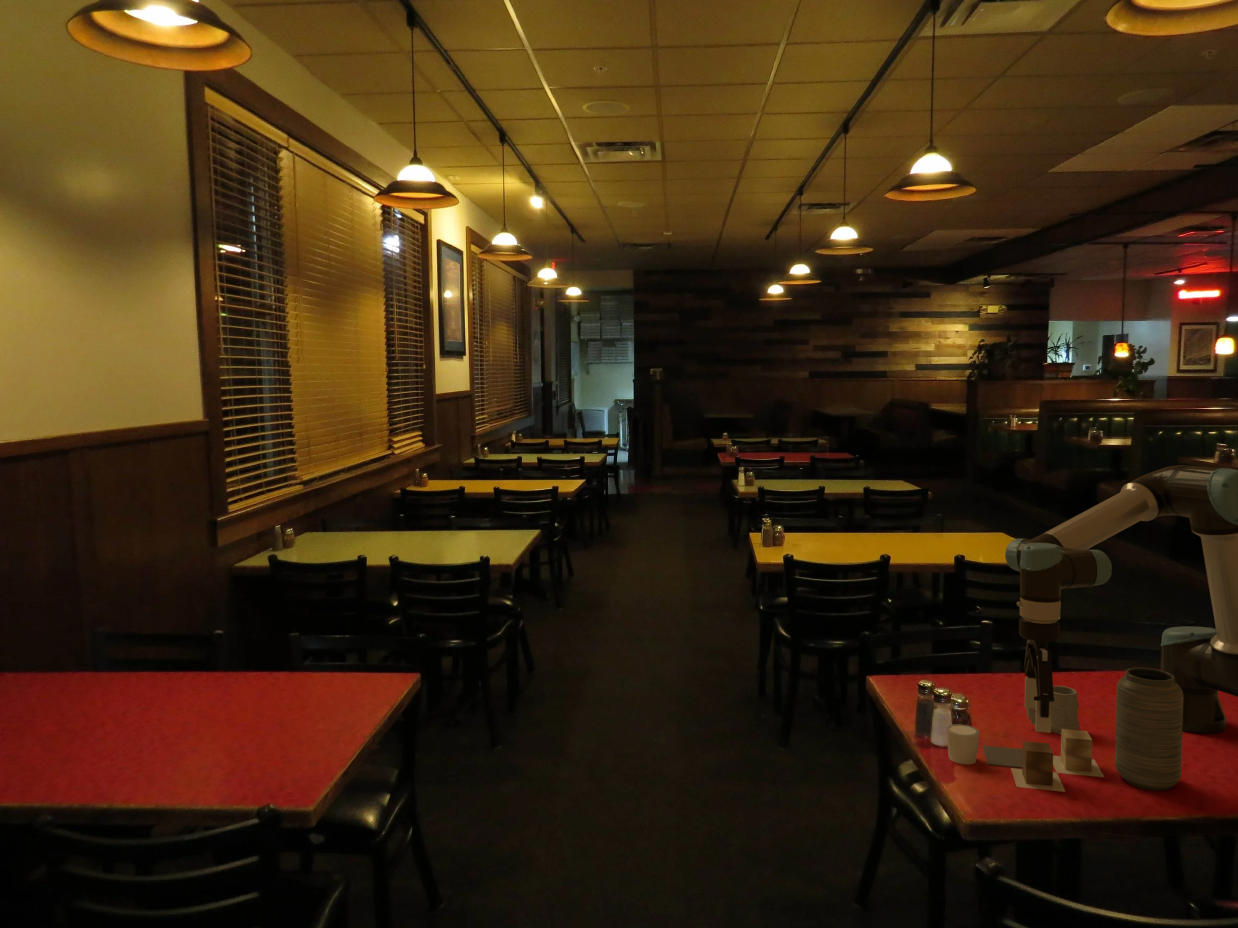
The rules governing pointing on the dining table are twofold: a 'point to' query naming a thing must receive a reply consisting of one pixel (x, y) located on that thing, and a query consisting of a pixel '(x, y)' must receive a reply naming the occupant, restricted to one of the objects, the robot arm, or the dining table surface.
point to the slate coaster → (1003, 756)
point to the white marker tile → (1021, 783)
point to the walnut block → (1037, 763)
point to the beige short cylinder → (962, 743)
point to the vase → (1149, 729)
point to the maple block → (1076, 750)
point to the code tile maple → (1060, 769)
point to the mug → (1061, 710)
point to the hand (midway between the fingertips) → (1037, 719)
